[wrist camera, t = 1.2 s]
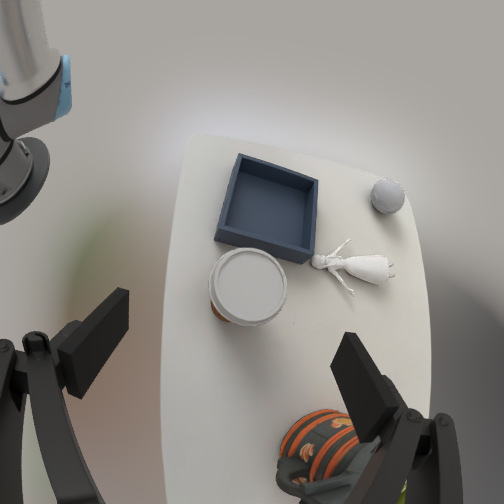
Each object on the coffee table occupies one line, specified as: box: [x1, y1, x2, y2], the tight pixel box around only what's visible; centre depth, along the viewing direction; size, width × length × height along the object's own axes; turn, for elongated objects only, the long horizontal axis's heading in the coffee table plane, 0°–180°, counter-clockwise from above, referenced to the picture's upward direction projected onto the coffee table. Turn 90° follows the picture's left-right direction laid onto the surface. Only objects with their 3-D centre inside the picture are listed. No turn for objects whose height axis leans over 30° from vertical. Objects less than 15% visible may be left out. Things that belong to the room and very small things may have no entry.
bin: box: [214, 153, 318, 264], centre depth 47 cm, size 16×16×5 cm
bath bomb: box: [371, 179, 405, 214], centre depth 55 cm, size 8×8×8 cm
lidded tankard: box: [276, 409, 380, 504], centre depth 27 cm, size 19×15×20 cm
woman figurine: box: [311, 238, 395, 297], centre depth 48 cm, size 12×4×18 cm
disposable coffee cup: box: [208, 248, 287, 326], centre depth 36 cm, size 10×10×12 cm
